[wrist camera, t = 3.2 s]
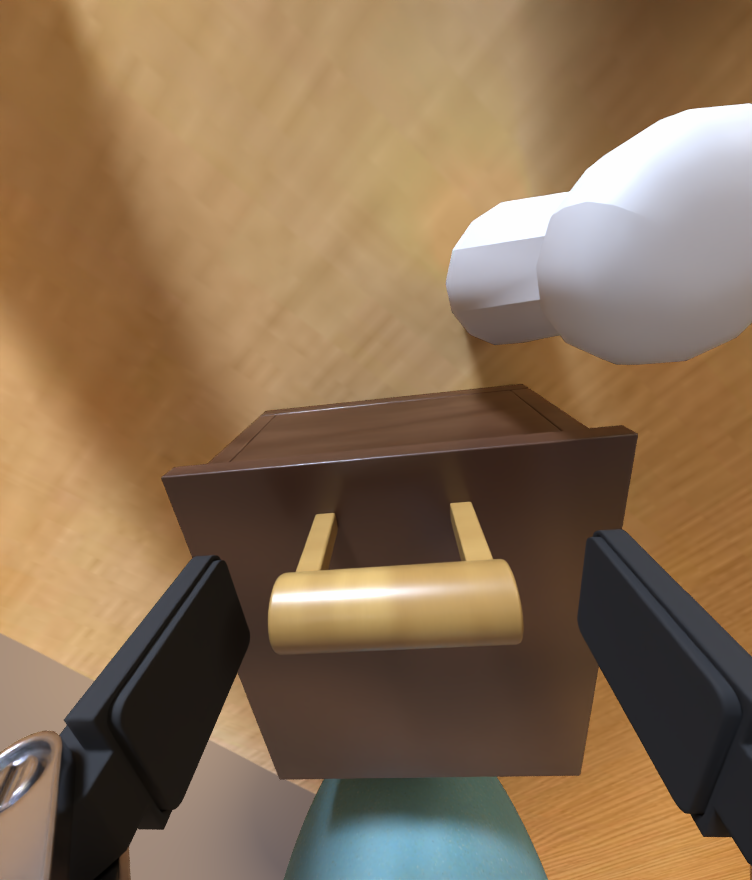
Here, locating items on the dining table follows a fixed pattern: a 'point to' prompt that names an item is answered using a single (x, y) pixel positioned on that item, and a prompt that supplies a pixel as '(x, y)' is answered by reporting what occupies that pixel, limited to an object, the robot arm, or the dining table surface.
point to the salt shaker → (623, 249)
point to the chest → (398, 423)
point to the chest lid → (415, 598)
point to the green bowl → (413, 832)
